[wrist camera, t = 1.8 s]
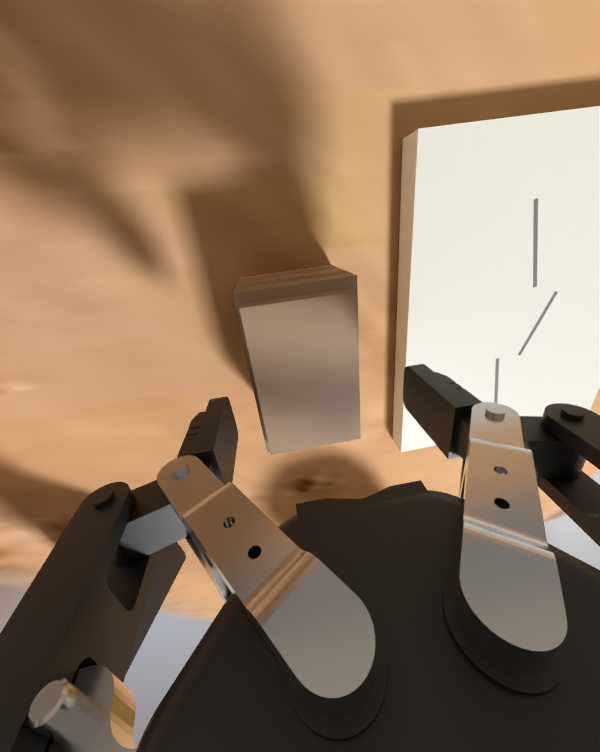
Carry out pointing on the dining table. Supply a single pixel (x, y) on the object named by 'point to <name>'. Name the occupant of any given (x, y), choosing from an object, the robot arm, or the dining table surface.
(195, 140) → the dining table surface
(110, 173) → the dining table surface
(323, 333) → the block
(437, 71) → the dining table surface
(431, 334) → the board
